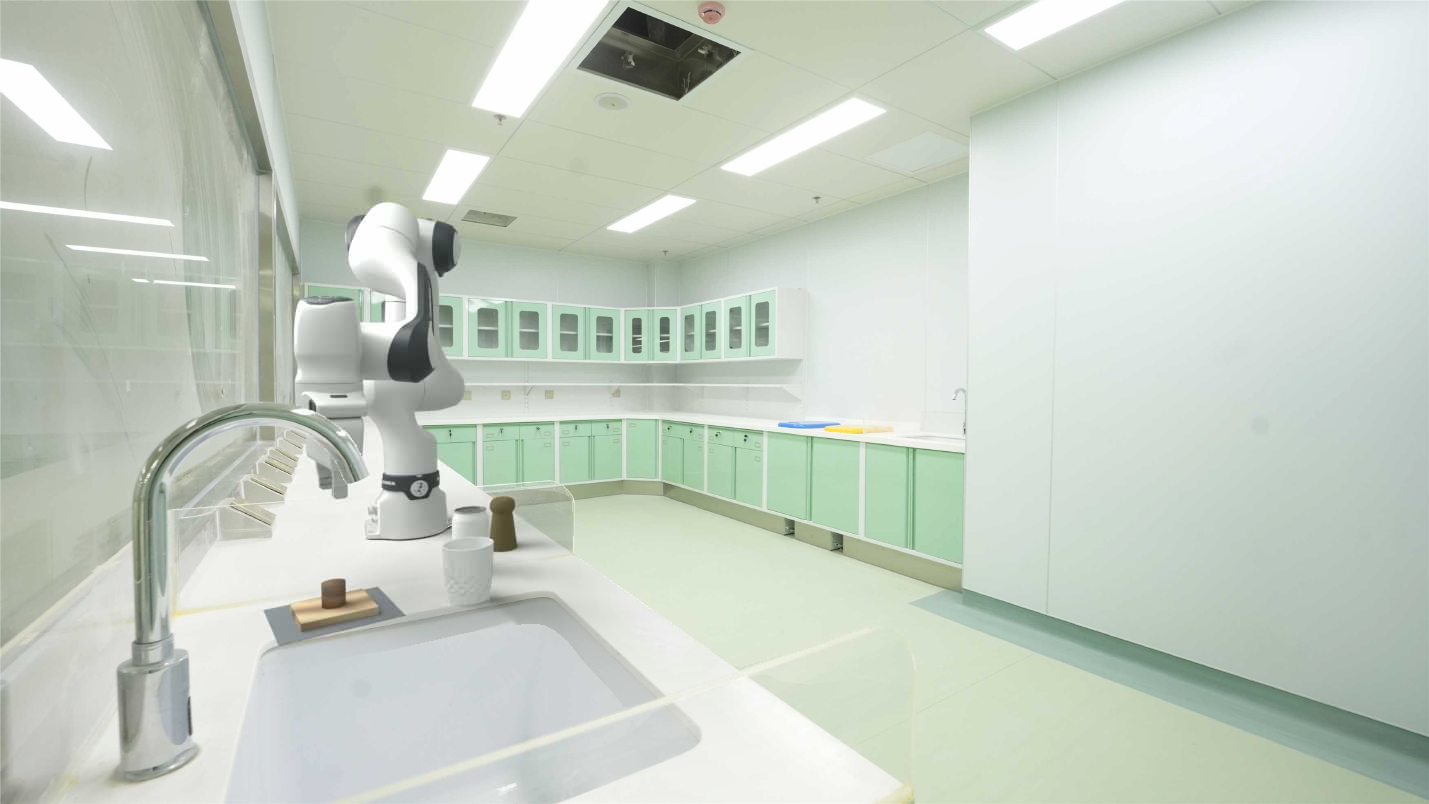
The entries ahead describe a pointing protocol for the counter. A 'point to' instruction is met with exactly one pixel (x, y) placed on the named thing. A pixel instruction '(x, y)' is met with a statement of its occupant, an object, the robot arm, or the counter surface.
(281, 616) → the mat
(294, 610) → the lid
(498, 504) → the olive pepper grinder
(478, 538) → the white cup
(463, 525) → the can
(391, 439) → the robot arm
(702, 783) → the counter surface
